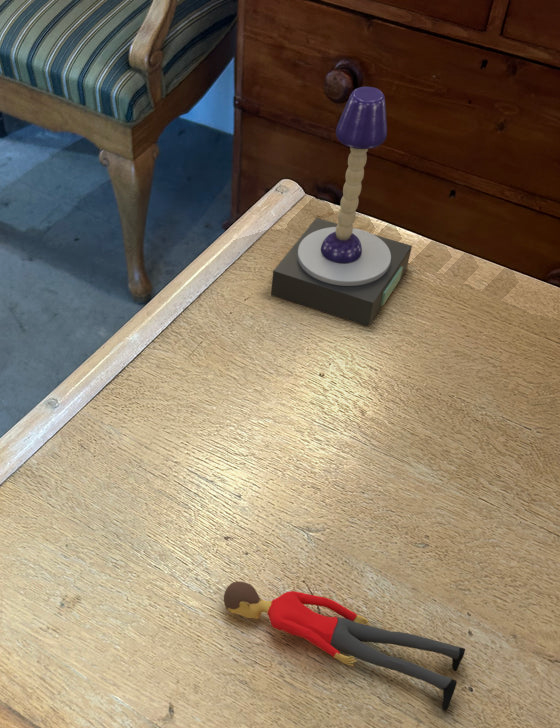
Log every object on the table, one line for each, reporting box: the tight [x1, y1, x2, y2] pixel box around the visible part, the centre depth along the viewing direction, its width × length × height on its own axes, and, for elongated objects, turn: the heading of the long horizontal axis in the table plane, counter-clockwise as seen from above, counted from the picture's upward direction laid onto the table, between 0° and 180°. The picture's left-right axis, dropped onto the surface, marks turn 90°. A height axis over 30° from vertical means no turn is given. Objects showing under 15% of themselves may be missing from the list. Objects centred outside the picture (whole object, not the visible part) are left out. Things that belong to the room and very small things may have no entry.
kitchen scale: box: [270, 217, 413, 327], centre depth 94 cm, size 11×11×4 cm
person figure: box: [223, 581, 466, 712], centre depth 67 cm, size 5×4×18 cm
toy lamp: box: [321, 86, 388, 263], centre depth 86 cm, size 5×5×17 cm
